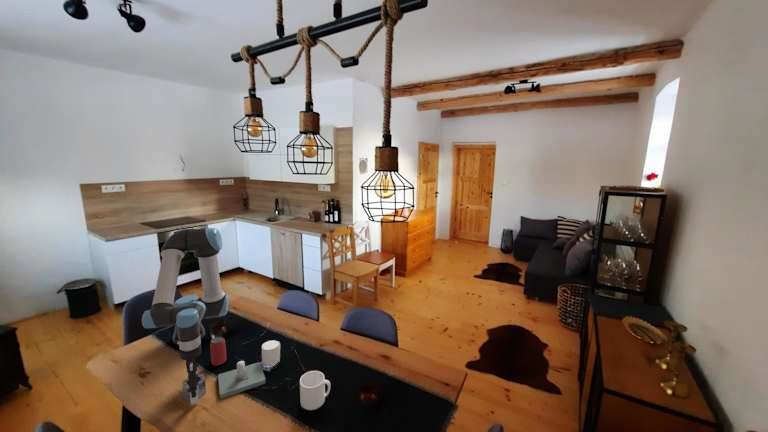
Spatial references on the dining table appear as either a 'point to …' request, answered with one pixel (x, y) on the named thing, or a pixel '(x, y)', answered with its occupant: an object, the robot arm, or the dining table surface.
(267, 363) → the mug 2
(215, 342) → the beer can
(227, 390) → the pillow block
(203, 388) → the ring
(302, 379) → the mug
